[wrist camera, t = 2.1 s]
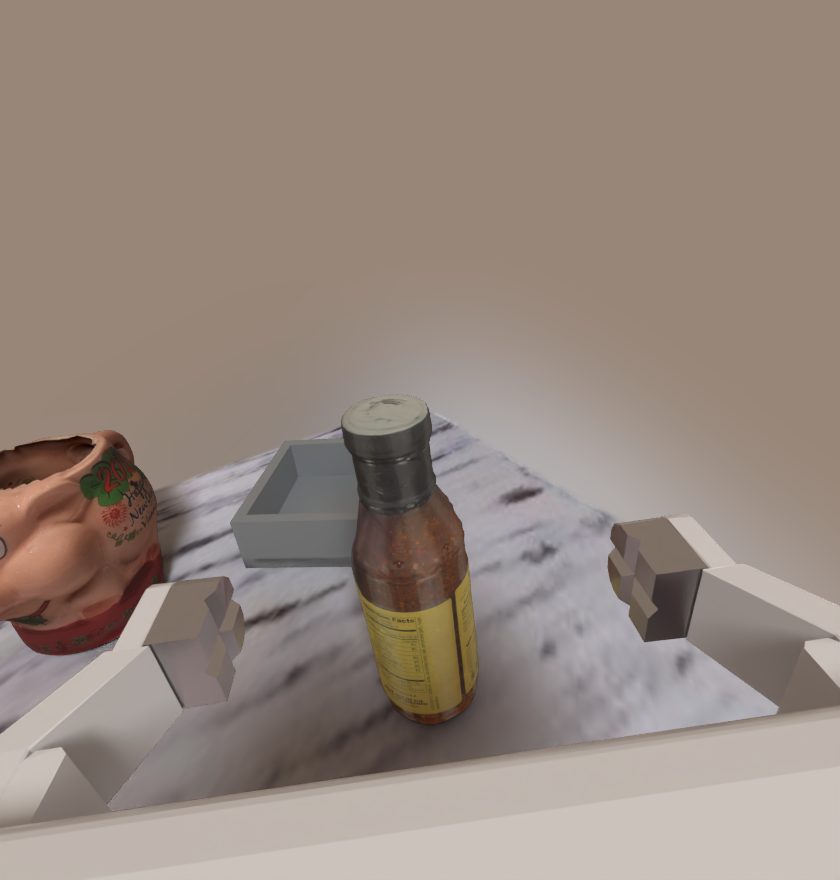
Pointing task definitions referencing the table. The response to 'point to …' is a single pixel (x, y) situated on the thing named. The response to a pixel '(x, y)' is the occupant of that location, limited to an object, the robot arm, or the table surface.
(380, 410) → the sauce bottle
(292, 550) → the tray
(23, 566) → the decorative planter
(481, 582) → the table surface
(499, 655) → the table surface
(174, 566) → the table surface
